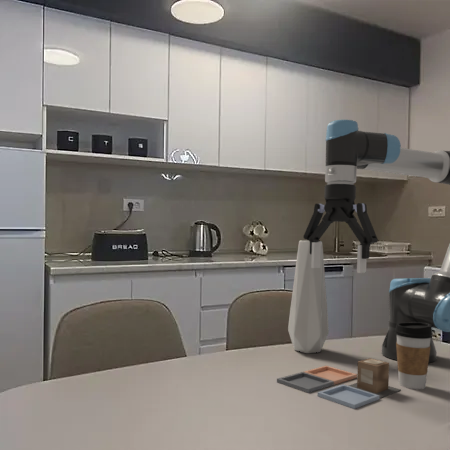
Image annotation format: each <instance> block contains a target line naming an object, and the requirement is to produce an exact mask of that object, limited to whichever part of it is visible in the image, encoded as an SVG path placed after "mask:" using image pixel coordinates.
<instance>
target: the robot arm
mask: <svg viewBox="0 0 450 450" xmlns="http://www.w3.org/2000/svg"><path fill="white" fill-rule="evenodd" d="M324 170H325V171H324V172H325V173H324V181H325V183H326V184H325V185H324V199H325V203H324V204H323V203H315V204H314V207H313V213H312V215H311V218H310V219H309V223H308V225H307V226H306V230H305V232H304V234H303V239H304V240H306V241H310V254H312V259H311V268H320V257H321V242H319V241H320V240H321V238H322V237H323V235H324V234H325V233H326V231H327V230H328V228H329V227H330V226H331V224H333V223H334V222H336V223H339V222H340V223H341V222H342V223H345V224H347V225H348V226H349V228H350V230H351V231H352V232H353V234H354V235H355V237H356V239H357V240H358V241H359V244H357V253H356V254H357V257H356V258H357V259H356V260H357V261H356V273H357V274H364V273H367V261H368V260H369V259H370V251H371V250H370V249H371V248H370V247H371V245H372V244H375V243H378V241H379V239H378V236H377V234H376V232H375V229H374V226H373V224H372V222H371V219H370V217H369V214H368V207H367V204H366V203H361V202H358V203H357V204H355V201H356V198H357V197H356V195H357V186H356V185H355V183H356V182H357V170H365V171H371V172H372V171H373V172H380V173H381V172H382V173H387V174H388V173H389V174H395V175H402V176H403V175H404V176H409V177H418V178H426V179H428V180H429V181H431V182H433V183H438V184H443V185H450V150H443V149H438V150H435V151H432V152H431V151H425V150H419V149H412V148H404V147H401V141H400V139H399V137H398V136H397V135H395V134H389V133H386V132H383V133H382V132H370V131H362V130H359V124H358V122H357V120H352V119H335V120H332V121H330V122H329V123H328V124H327V128H326V134H325V169H324ZM324 213H325V214H324ZM354 213H356V214H357V217H358V219H357V217H356V216H355V214H354ZM358 220H359V222H360V224H359V222H358ZM444 255H445V256H444V258H443V260H442V264H441V266H440V270H438V271H436V272H435V273H432V274H431V277H414V278H413V277H411V278H410V277H409V278H407V277H404V278H393V279H391V281H390V283H389V290H388V296H389V297H388V301H389V302H388V303H389V304H388V328H387V332H386V335H385V336H384V340H383V341H382V345H381V355H382V356H384V357H386V358H387V359H392V360H394V361H397V348H396V342H397V334H395V329H396V324H397V323H405V322H421V323H428V324H431V325H432V329H436V330H439V331H441V332H445V333H450V243H449V244H448V247H447V249H446V252H445V254H444ZM430 346H431V347H430V355H429V362H428V363H432V362H435V361H437V349H436V346H435V343H434V339H433V337H432V338H431V339H430Z"/></svg>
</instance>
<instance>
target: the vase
mask: <svg viewBox="0 0 450 450" xmlns="http://www.w3.org/2000/svg"><path fill="white" fill-rule="evenodd" d="M319 242H321V257H320V268H311V259H312V254H310V241H309V240H307V239H304V240H299V241H298V247H297V253H296V260H295V261H296V262H295V270H294V277H293V284H292V285H293V287H292V294H291V302H290V308H289V316H288V317H289V318H288V327H287V330H288V334H289V338H290V341H291V344H292V346H293V350H294V351H295V352H296V351H297V352H299V351H300V353H305V354H315V353H316V352H317V353H321V352H322V349H323V346H324V345H325V343H326V341H327V337H328V335H329V331H330V329H329V317H328V302H327V287H326V277H325V276H326V275H325V274H326V273H325V264H324V263H325V261H324V248H323V246H324V245H323V241H321V240H319ZM317 353H316V354H317Z"/></svg>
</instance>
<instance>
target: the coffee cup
mask: <svg viewBox="0 0 450 450" xmlns="http://www.w3.org/2000/svg"><path fill="white" fill-rule="evenodd" d="M395 334H397V342H396V348H397V360H396V363H397V370H398V372H397V374H398V385H399V386H401V387H403V388H404V389H405V388H406V389H410V390H411V389H412V390H423V389H424V390H425V389H426V383H427V377H428V375H427V374H428V370H429V369H428V368H429V363H430V362H429V355H430V347H431V346H430V339H431V338H433V334H434V333H433V327H432V325H431V324H428V323H421V322H405V323H397V324H396V329H395Z"/></svg>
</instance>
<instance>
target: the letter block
mask: <svg viewBox="0 0 450 450" xmlns="http://www.w3.org/2000/svg"><path fill="white" fill-rule="evenodd" d="M356 374H357V378H356V379H357V380H356V381H357V382H356V383H357V388H360V389H364V390H367V391H370V392H373V393H379V392H381V391H384V390H387V389H388V386H389V380H390V378H389V377H390V362H387V361H383V360H379V359H375V358H372V357H371V358H365V359H362V360H358V361H357V373H356Z"/></svg>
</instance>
